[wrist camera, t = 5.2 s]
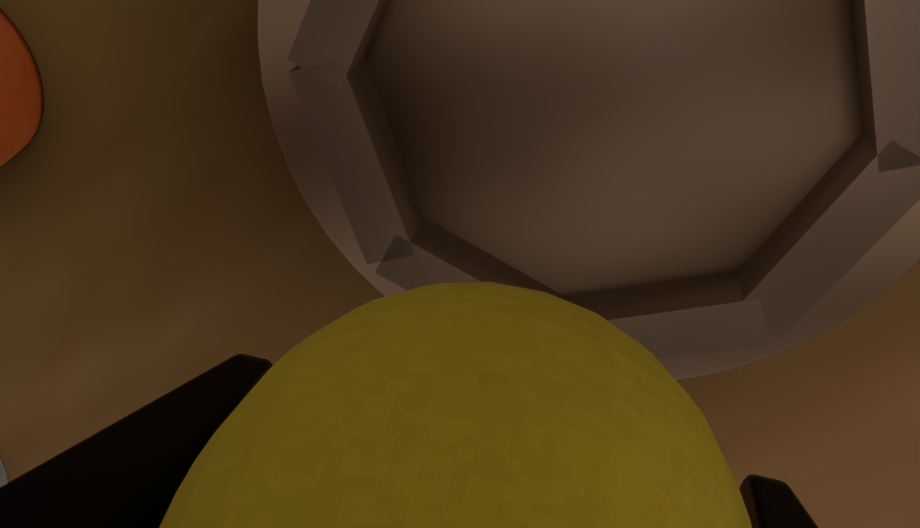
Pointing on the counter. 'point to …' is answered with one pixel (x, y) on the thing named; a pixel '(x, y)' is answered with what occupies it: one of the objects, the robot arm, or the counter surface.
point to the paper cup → (17, 92)
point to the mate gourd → (2, 475)
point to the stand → (614, 155)
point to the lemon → (463, 426)
